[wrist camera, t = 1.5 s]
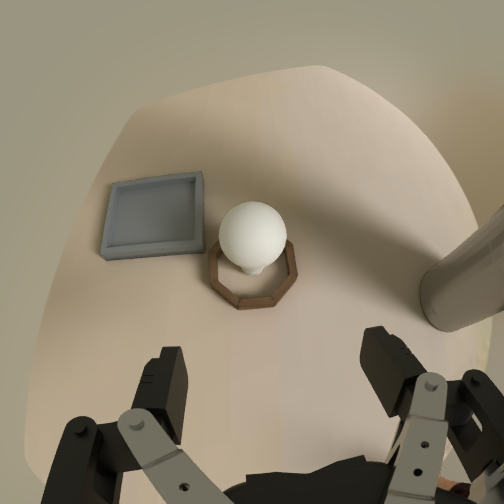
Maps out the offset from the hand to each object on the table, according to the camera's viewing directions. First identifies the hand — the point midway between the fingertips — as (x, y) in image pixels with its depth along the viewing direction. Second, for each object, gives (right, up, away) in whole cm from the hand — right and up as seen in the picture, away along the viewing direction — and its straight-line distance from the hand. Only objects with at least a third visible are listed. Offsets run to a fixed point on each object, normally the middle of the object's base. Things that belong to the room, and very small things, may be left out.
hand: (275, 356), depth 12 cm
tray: (-14, +9, +25) cm, 30 cm away
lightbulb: (-1, +2, +22) cm, 22 cm away
